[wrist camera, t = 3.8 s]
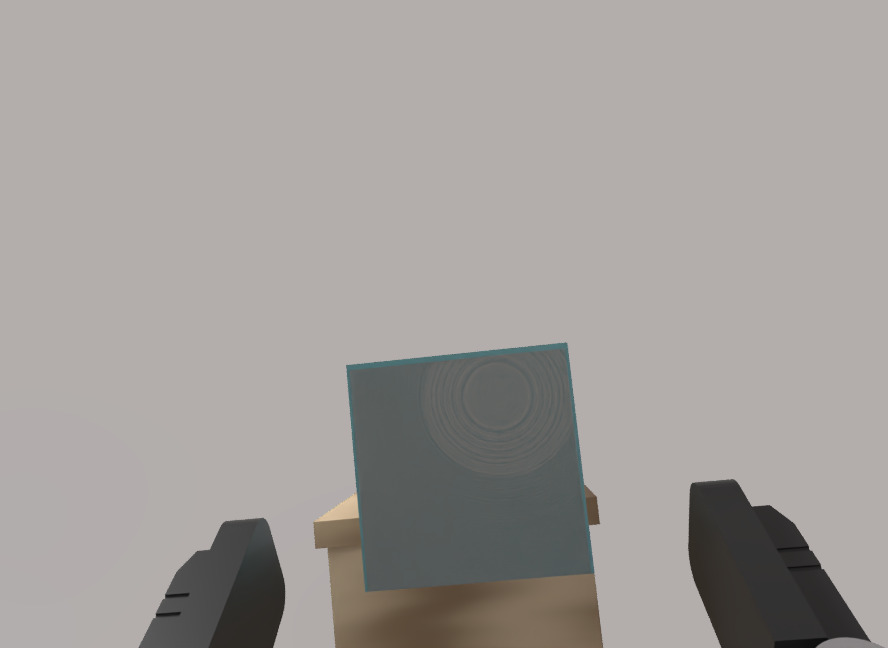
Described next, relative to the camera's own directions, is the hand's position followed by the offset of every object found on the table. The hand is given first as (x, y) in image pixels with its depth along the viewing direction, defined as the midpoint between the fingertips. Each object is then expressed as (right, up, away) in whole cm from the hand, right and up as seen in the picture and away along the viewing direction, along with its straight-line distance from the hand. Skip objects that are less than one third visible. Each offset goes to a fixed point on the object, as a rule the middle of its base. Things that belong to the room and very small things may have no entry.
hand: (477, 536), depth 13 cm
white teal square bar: (+1, -2, +11) cm, 11 cm away
